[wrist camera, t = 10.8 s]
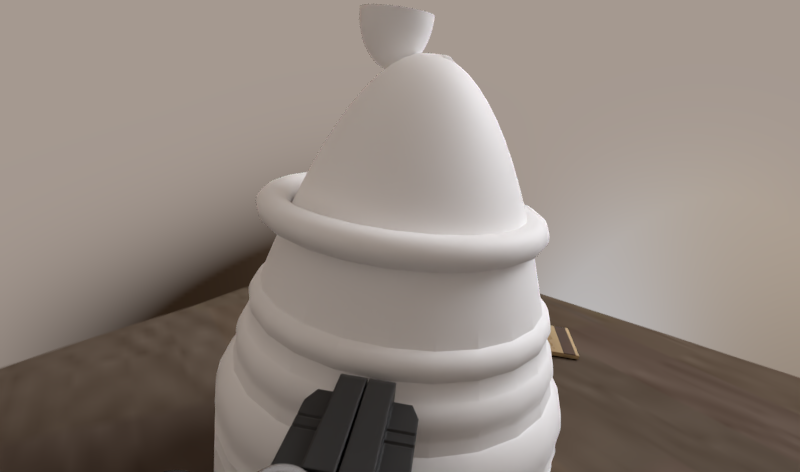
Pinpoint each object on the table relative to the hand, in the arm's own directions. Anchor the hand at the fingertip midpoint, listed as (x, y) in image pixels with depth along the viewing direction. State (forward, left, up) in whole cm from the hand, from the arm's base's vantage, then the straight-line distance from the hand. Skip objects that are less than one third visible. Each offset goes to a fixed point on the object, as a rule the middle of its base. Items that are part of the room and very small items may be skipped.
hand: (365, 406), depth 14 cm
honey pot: (0, -6, -8) cm, 9 cm away
